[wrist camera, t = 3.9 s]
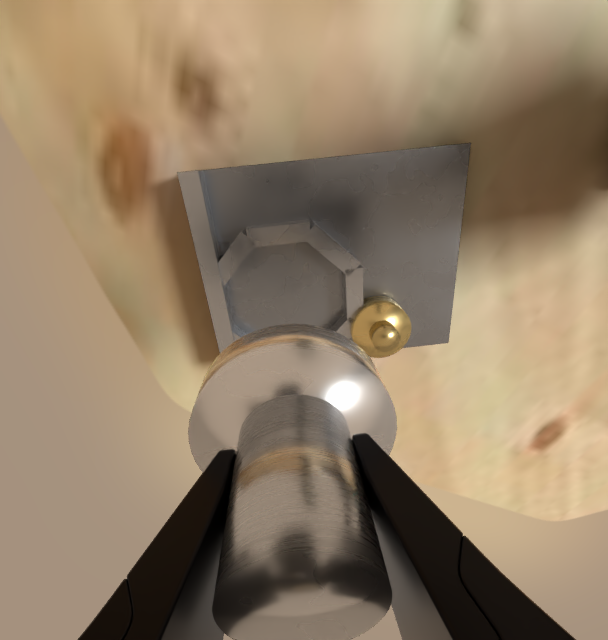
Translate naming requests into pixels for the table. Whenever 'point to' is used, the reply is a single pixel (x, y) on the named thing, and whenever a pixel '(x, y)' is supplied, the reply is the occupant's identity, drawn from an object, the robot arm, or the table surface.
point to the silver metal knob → (295, 484)
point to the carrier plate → (333, 244)
